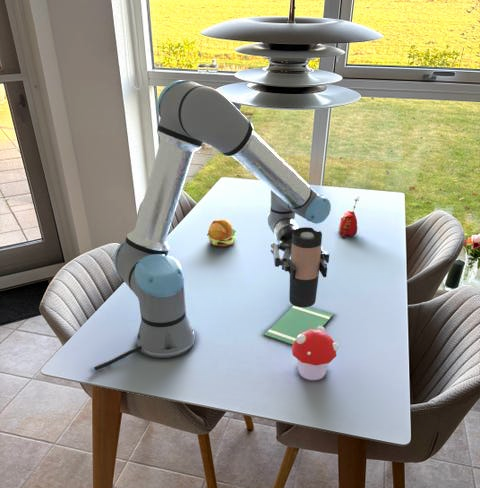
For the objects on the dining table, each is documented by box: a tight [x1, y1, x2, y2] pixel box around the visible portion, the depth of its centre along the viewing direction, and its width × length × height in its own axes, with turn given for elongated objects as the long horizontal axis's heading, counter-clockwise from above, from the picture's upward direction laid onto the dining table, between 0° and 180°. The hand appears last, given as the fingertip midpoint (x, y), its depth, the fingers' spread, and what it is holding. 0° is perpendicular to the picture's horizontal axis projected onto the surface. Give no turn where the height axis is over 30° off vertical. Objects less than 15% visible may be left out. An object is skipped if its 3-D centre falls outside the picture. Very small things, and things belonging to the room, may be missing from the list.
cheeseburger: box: [206, 218, 237, 247], centre depth 187 cm, size 10×11×10 cm
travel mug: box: [288, 226, 323, 308], centre depth 133 cm, size 8×8×20 cm
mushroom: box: [291, 326, 339, 381], centre depth 122 cm, size 11×11×12 cm
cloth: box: [264, 305, 334, 346], centre depth 143 cm, size 19×12×1 cm, turn 148°
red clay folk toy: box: [338, 196, 360, 239], centre depth 190 cm, size 8×7×15 cm
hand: (309, 273), depth 129 cm, fingers closed on travel mug, 7 cm apart
